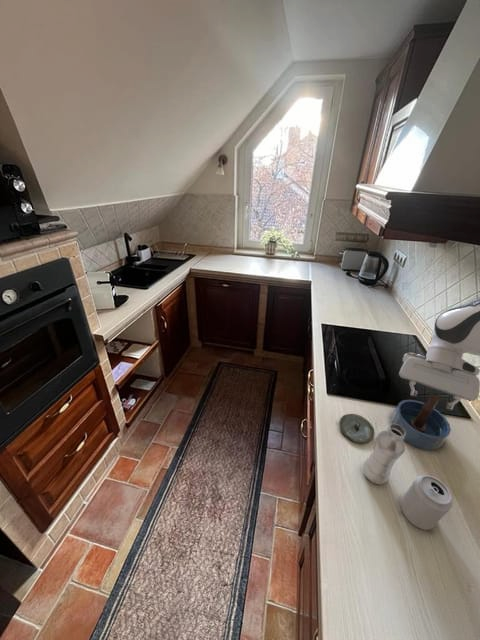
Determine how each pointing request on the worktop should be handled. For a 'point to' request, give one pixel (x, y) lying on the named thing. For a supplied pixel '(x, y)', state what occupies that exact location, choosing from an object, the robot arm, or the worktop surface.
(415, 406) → the bowl
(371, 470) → the plastic bottle
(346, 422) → the lid
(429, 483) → the can
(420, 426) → the stirring stick
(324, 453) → the worktop surface
